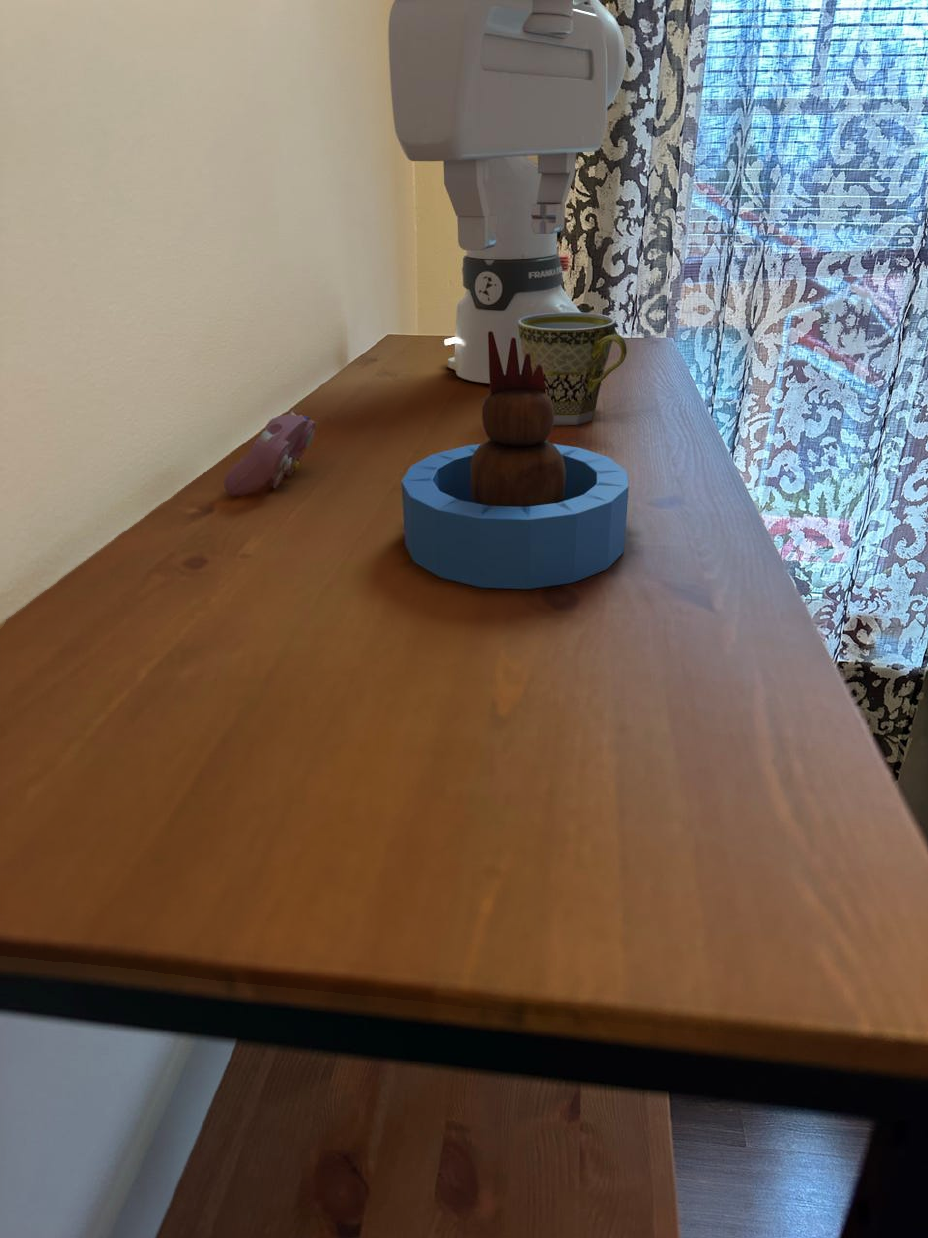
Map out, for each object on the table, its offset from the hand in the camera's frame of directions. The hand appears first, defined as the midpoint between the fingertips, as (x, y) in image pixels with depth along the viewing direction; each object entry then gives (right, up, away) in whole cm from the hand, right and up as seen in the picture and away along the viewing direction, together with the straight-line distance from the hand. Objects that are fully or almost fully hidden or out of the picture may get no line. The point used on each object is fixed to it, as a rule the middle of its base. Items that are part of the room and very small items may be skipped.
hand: (514, 240), depth 52 cm
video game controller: (-20, -12, +23) cm, 32 cm away
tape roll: (+1, -18, +10) cm, 20 cm away
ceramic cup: (+9, -2, +37) cm, 38 cm away
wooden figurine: (+1, -18, +10) cm, 21 cm away
